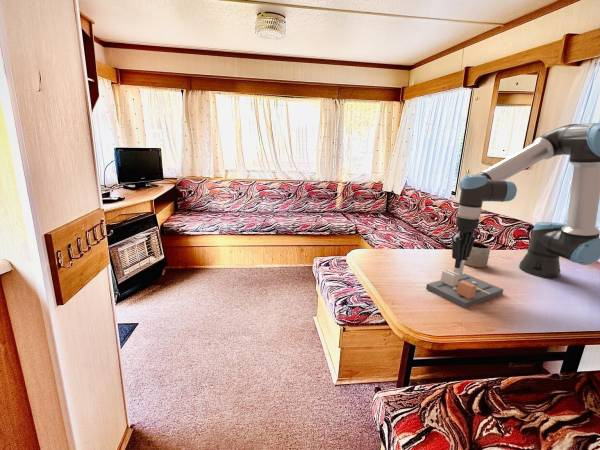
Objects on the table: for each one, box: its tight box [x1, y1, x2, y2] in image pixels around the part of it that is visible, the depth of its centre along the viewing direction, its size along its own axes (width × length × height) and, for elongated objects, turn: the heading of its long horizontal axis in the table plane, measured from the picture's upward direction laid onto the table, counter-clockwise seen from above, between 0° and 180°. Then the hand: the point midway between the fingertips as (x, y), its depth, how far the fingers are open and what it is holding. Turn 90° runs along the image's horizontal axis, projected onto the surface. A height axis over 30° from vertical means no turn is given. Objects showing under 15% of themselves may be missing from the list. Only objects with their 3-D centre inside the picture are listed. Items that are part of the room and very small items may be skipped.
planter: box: [464, 241, 491, 269], centre depth 150 cm, size 11×11×10 cm
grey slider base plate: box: [425, 272, 504, 309], centre depth 122 cm, size 24×16×3 cm, turn 121°
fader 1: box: [440, 269, 459, 287], centre depth 123 cm, size 3×5×5 cm, turn 31°
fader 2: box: [456, 280, 477, 299], centre depth 114 cm, size 3×5×5 cm, turn 31°
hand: (457, 275), depth 125 cm, fingers closed
